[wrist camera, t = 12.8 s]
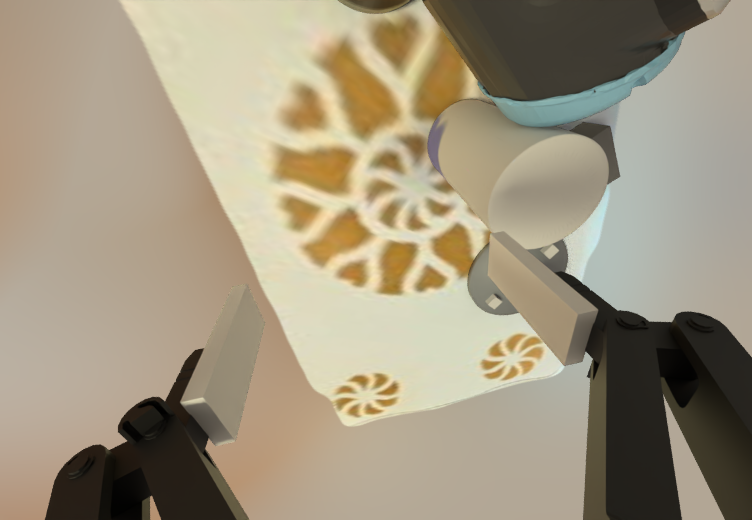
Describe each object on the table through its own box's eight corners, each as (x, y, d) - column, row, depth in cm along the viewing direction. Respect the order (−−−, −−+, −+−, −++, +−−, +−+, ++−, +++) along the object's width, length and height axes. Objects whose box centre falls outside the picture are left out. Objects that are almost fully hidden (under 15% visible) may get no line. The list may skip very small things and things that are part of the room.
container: (512, 139, 42) (627, 196, 25) (454, 190, 45) (523, 269, 29) (473, 80, 37) (583, 102, 21) (412, 141, 40) (465, 202, 24)
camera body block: (581, 122, 43) (615, 126, 38) (593, 168, 47) (624, 178, 42) (506, 172, 45) (528, 183, 40) (523, 212, 49) (545, 226, 44)
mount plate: (470, 235, 49) (476, 241, 47) (573, 217, 51) (582, 223, 49) (465, 318, 58) (469, 326, 57) (552, 302, 60) (559, 309, 58)
